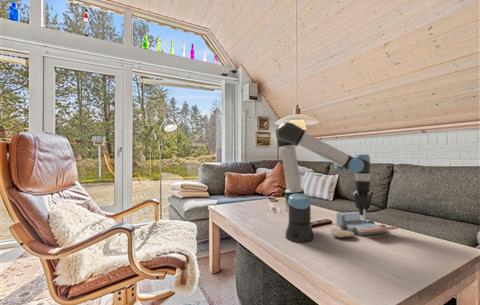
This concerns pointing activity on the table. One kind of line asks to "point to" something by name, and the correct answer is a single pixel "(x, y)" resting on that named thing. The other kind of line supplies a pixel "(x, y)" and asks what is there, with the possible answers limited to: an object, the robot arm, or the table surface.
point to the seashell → (342, 233)
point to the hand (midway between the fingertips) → (363, 220)
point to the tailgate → (379, 229)
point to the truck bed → (356, 223)
